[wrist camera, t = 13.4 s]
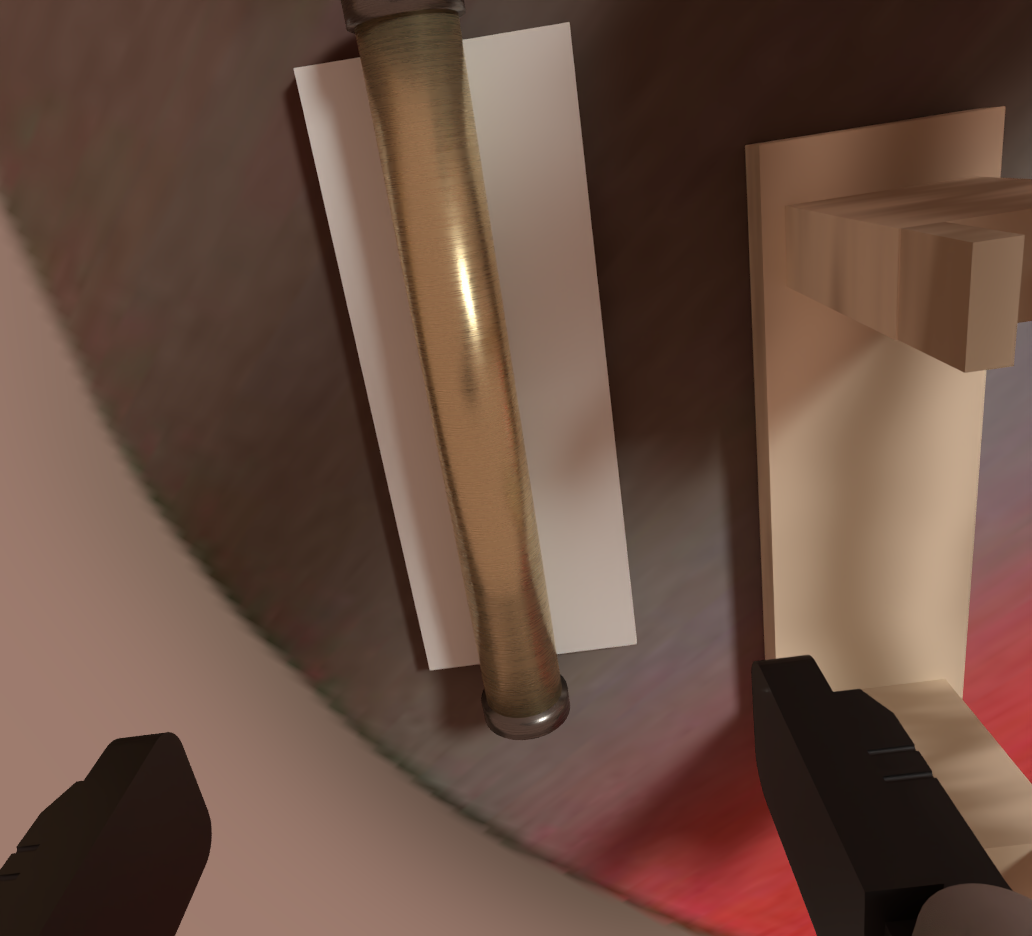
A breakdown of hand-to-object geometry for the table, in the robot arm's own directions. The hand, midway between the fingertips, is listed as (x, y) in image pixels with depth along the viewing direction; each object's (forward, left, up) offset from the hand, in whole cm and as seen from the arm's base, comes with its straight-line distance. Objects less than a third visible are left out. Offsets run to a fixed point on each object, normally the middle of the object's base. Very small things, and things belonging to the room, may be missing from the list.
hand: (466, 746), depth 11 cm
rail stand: (-12, +5, -18) cm, 22 cm away
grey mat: (0, 0, -18) cm, 18 cm away
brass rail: (0, 0, -17) cm, 17 cm away
